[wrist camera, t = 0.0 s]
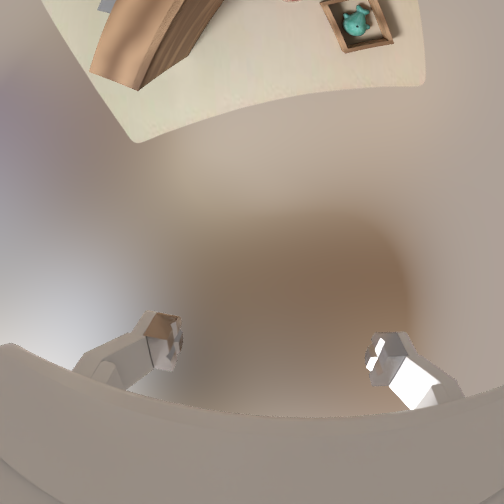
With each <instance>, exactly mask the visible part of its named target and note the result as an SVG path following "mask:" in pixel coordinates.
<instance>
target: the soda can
mask: <svg viewBox="0 0 504 504" xmlns="http://www.w3.org/2000/svg"><path fill="white" fill-rule="evenodd" d="M282 1H285V2H298V1H301V0H282Z"/></svg>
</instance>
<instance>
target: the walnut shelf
mask: <svg viewBox="0 0 504 504" xmlns="http://www.w3.org/2000/svg"><path fill="white" fill-rule="evenodd" d="M223 1H224V0H116V2H115V4H114V6H113V8H112V10H111V13H110V15H109V17H108V20H107V22H106V24H105V27H104V29H103V32H102V35H101V37H100V40H99V43H98V45H97V48H96V51H95V54H94V57H93V60H92V64H91V67H90V70H89V72H91V73H94V74H96V75H99V76H102V77H104V78H107V79H110V80H112V81H115V82H117V83H120V84H122V85H125V86H127V87H130V88H132V89H134V90H137V91H139V90H140V89H141V88H143V87H144V86H145V85H147V84H148V83H149V82H151V81H152V80H153V79H155V78H156V77H157V76H159V75H160V74H162V73H163V72H165V71H166V70H167V69H169V68H170V67H172V66H173V65H175V64H176V63H178V62H179V61H181V60H183V59H184V58H186V57H187V56H188V55H189V53H190V51H191V49H192V48H193V46H194V44H195V43H196V41H197V40H198V38H199V36H200V35H201V33H202V32H203V30H204V29H205V27H206V25H207V24H208V22H209V21H210V19H211V18H212V17H213V15H214V14H215V12H216V11H217V9H218V8H219V7H220V5H221V4H222V2H223Z"/></svg>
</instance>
